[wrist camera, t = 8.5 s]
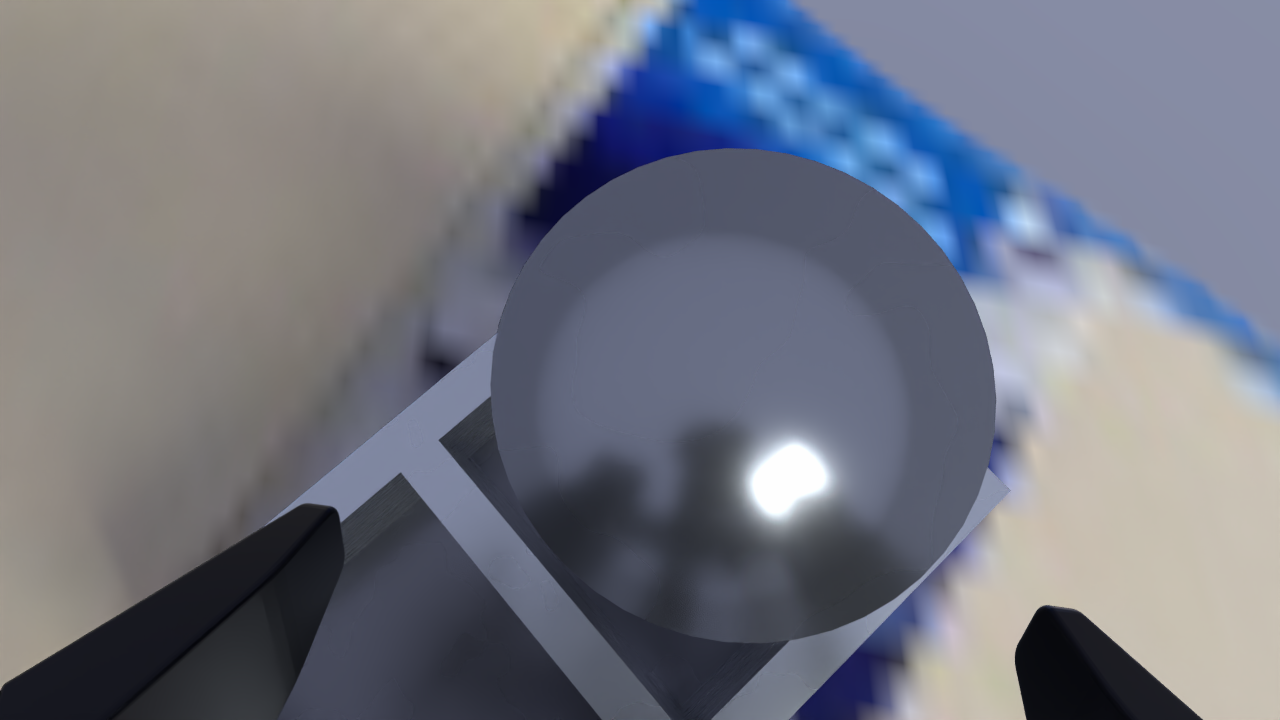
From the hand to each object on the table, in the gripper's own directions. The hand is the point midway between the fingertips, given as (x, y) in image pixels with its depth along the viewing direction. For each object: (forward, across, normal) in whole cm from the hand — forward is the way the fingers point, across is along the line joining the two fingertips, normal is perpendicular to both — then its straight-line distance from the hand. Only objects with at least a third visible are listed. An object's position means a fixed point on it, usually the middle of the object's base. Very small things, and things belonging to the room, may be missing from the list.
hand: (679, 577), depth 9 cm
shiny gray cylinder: (+7, 0, +5) cm, 9 cm away
